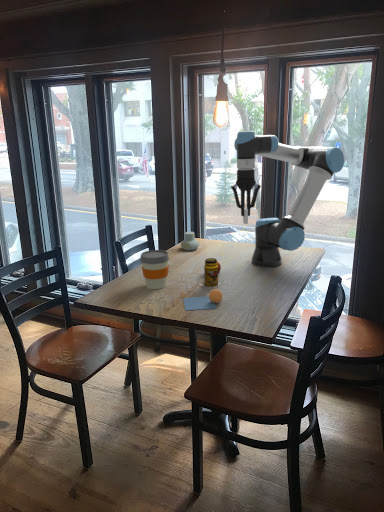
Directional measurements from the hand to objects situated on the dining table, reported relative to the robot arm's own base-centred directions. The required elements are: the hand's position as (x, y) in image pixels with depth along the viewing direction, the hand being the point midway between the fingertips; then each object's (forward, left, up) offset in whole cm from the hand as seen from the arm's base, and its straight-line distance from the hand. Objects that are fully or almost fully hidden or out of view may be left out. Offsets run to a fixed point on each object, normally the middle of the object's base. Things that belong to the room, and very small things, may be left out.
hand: (245, 223), depth 178 cm
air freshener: (+21, -55, -27) cm, 65 cm away
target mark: (+24, +24, -26) cm, 43 cm away
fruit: (+14, -9, -27) cm, 31 cm away
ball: (+17, +24, -24) cm, 38 cm away
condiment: (+17, +4, -27) cm, 32 cm away
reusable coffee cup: (+41, +1, -27) cm, 49 cm away
